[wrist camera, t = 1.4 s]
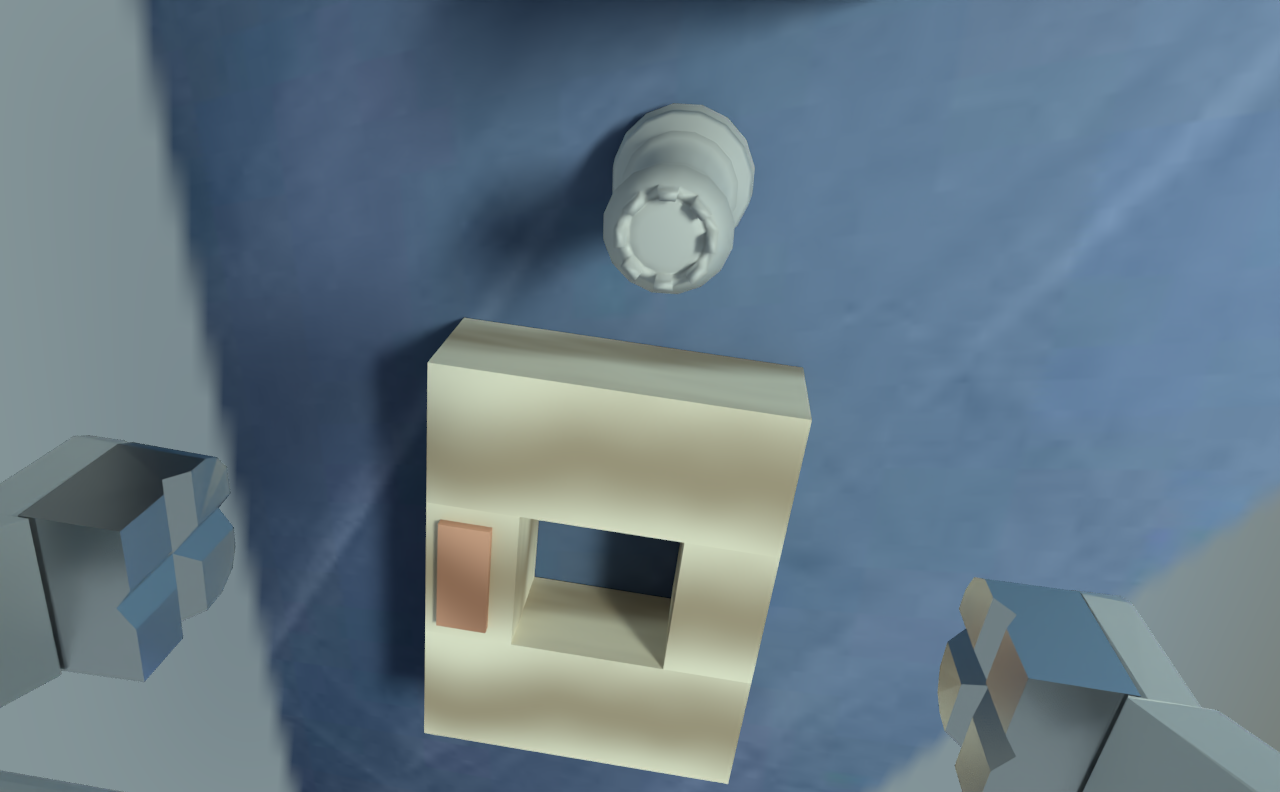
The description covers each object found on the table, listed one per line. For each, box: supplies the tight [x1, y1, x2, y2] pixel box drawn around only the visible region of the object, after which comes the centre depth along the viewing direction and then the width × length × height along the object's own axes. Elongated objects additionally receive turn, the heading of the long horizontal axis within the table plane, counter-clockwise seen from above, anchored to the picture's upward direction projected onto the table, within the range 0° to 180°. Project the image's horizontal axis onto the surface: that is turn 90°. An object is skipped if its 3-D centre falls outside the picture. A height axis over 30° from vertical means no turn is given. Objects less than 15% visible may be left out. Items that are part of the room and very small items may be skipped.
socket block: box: [424, 318, 812, 784], centre depth 32 cm, size 16×12×4 cm
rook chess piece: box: [603, 103, 755, 294], centre depth 24 cm, size 4×4×8 cm
